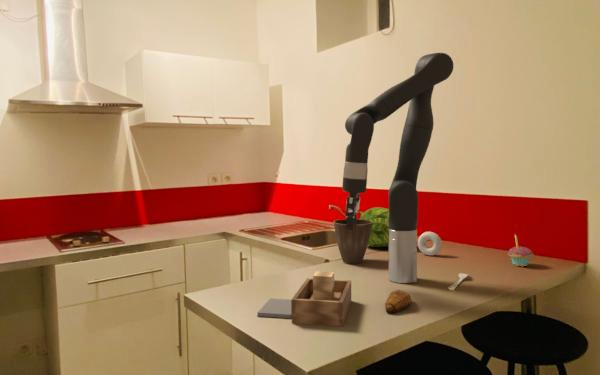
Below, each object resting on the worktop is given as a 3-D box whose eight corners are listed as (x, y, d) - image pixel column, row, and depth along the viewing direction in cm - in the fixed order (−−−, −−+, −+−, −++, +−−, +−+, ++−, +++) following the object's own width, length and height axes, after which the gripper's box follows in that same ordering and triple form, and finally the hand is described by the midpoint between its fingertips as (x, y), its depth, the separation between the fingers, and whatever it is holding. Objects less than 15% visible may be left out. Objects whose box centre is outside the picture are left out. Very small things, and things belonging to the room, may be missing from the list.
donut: (442, 256, 188) (443, 232, 187) (440, 257, 185) (440, 233, 184) (419, 253, 194) (419, 230, 193) (416, 255, 191) (416, 231, 190)
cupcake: (508, 267, 169) (508, 235, 168) (507, 262, 176) (507, 231, 176) (534, 269, 165) (535, 236, 164) (532, 263, 173) (532, 232, 172)
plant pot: (369, 257, 188) (369, 218, 186) (374, 266, 173) (374, 224, 172) (333, 257, 188) (332, 219, 187) (334, 266, 173) (334, 224, 172)
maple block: (334, 296, 127) (334, 272, 126) (331, 302, 122) (331, 276, 122) (316, 295, 128) (316, 271, 128) (313, 301, 123) (313, 275, 123)
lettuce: (398, 254, 192) (398, 211, 190) (350, 248, 206) (350, 208, 205) (417, 247, 206) (417, 207, 205) (371, 241, 221) (371, 204, 220)
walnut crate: (351, 300, 133) (351, 280, 132) (342, 326, 113) (342, 302, 113) (307, 298, 136) (307, 278, 135) (291, 322, 116) (291, 299, 116)
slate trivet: (300, 303, 131) (300, 300, 131) (290, 318, 119) (290, 314, 119) (270, 301, 133) (270, 298, 133) (257, 316, 121) (257, 312, 121)
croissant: (400, 317, 119) (400, 298, 119) (376, 312, 123) (376, 293, 123) (419, 303, 130) (420, 285, 130) (397, 298, 134) (397, 282, 134)
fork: (445, 298, 143) (445, 289, 142) (463, 275, 159) (463, 268, 159) (454, 299, 141) (454, 291, 141) (472, 276, 158) (472, 269, 157)
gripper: (365, 179, 136) (360, 232, 138) (368, 176, 150) (364, 225, 152) (340, 177, 138) (336, 230, 140) (346, 174, 152) (342, 223, 153)
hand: (351, 227), depth 146 cm, fingers open, 8 cm apart
